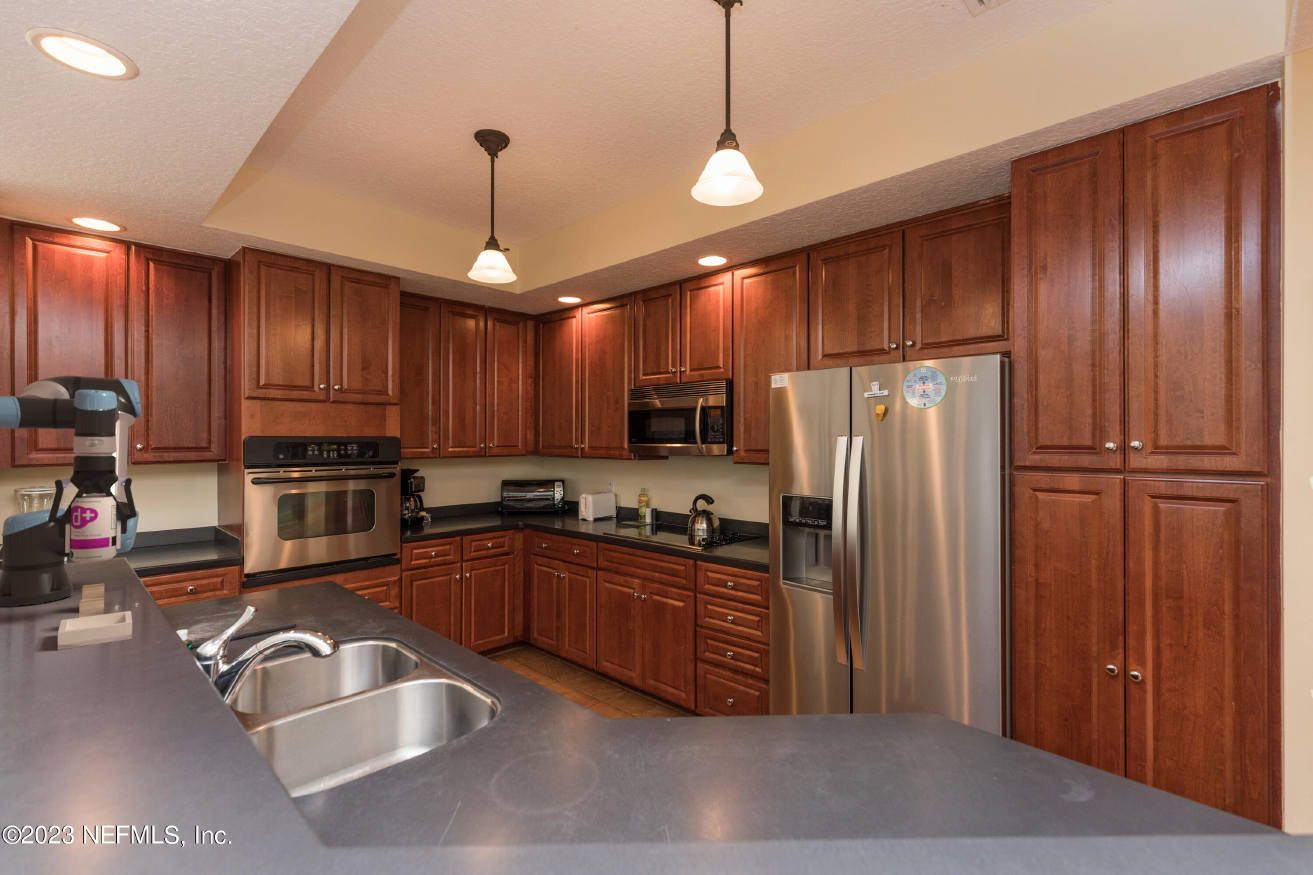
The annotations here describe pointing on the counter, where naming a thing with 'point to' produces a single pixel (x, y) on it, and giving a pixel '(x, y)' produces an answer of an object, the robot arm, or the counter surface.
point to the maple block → (93, 591)
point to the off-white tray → (94, 630)
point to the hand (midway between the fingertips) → (93, 549)
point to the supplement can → (93, 528)
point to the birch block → (91, 607)
